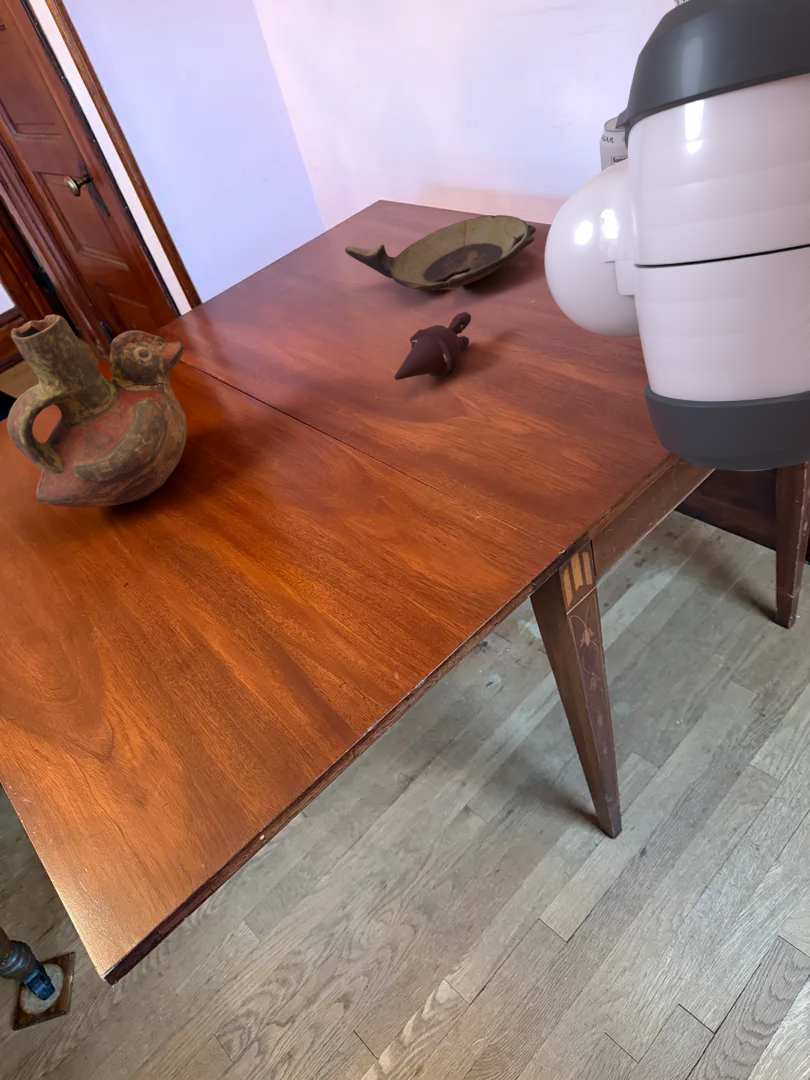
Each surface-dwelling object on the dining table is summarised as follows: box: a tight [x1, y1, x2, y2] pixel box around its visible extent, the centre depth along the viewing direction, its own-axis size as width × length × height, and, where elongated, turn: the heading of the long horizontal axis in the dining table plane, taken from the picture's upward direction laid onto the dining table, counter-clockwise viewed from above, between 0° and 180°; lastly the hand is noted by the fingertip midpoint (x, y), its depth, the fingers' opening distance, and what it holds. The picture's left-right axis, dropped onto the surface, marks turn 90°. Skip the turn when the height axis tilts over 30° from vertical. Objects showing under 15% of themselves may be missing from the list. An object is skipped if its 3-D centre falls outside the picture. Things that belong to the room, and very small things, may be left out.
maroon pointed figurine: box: [393, 311, 472, 381], centre depth 101 cm, size 7×7×15 cm
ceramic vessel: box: [6, 314, 188, 508], centre depth 94 cm, size 17×26×25 cm, turn 132°
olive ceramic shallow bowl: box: [344, 214, 537, 290], centre depth 122 cm, size 22×30×8 cm
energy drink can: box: [599, 115, 628, 172], centre depth 88 cm, size 6×6×15 cm
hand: (622, 182), depth 88 cm, fingers closed on energy drink can, 6 cm apart
